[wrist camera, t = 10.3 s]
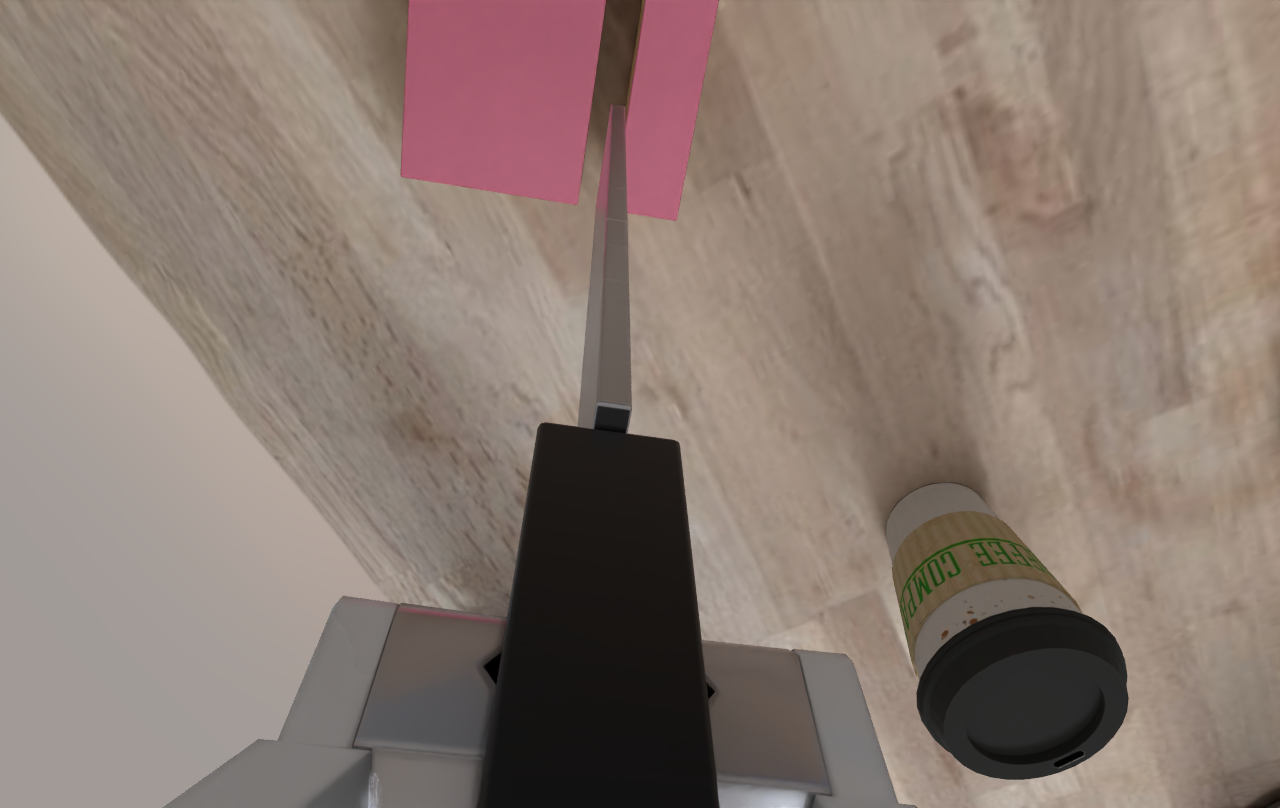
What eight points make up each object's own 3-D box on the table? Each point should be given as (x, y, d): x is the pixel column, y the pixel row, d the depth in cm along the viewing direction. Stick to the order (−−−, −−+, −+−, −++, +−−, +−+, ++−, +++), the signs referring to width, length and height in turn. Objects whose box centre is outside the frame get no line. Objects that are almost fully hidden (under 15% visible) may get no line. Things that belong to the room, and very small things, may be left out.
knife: (575, 203, 27) (387, 1423, 5) (589, 99, 26) (415, 1167, 4) (629, 211, 27) (663, 1433, 5) (646, 109, 26) (787, 1190, 4)
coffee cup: (970, 426, 52) (1088, 600, 39) (1046, 536, 56) (1177, 728, 43) (824, 514, 55) (889, 705, 42) (906, 613, 59) (989, 817, 46)
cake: (417, 156, 45) (400, 177, 41) (432, -114, 39) (414, -117, 36) (580, 182, 45) (577, 205, 42) (617, -79, 40) (616, -78, 37)
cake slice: (612, 187, 46) (612, 210, 42) (653, -72, 40) (656, -71, 37) (672, 197, 46) (676, 221, 42) (720, -60, 40) (729, -57, 37)
